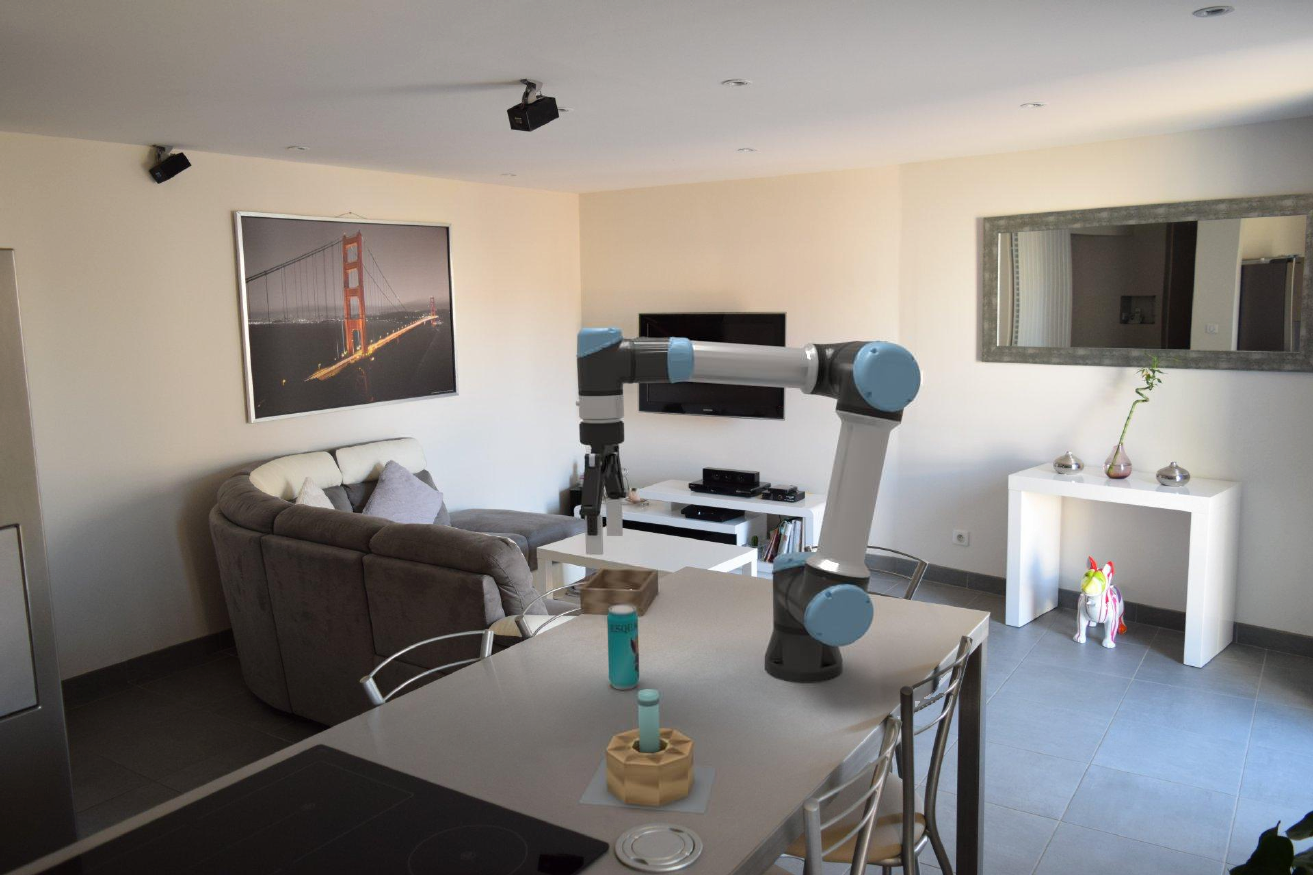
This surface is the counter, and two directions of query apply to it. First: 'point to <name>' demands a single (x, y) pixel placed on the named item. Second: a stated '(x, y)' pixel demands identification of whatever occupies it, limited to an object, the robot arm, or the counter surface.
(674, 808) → the slate mat
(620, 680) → the beverage can
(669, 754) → the wooden bead
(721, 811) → the counter surface
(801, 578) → the robot arm
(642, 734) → the teal capped bottle
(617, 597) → the open wooden box
